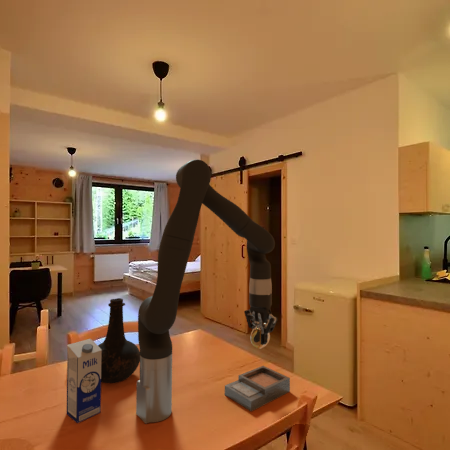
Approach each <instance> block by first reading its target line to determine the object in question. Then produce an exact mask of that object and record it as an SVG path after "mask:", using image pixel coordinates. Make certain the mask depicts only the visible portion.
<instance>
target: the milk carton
mask: <svg viewBox="0 0 450 450" xmlns="http://www.w3.org/2000/svg"><path fill="white" fill-rule="evenodd" d="M98 345H99V344H97V343H96V342H95V341H94V340H92V338H88V339H83V340H80V341H77V342H72V343H69V344H67V345H66V347H67V360H66V364H67V365H66V415H67V416H68V417H69V418H70V419H71V420H73V421H74V422H75V423H77V424H79V423H81V422H84V421H85V420H88V419H90V418H92V417H94V416H96V415H98V414H101V408H102V405H101V404H102V398H101V397H102V382H101V348H100V347H99V346H98Z"/></svg>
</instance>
